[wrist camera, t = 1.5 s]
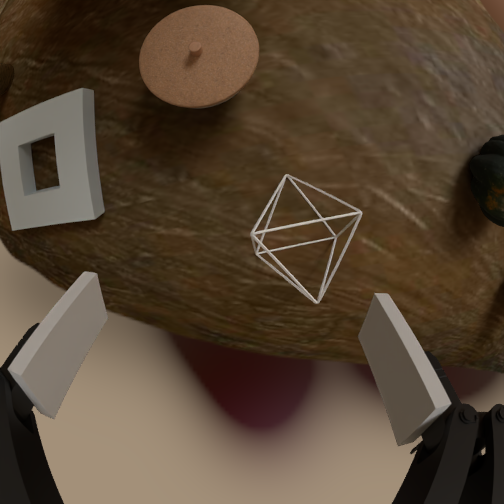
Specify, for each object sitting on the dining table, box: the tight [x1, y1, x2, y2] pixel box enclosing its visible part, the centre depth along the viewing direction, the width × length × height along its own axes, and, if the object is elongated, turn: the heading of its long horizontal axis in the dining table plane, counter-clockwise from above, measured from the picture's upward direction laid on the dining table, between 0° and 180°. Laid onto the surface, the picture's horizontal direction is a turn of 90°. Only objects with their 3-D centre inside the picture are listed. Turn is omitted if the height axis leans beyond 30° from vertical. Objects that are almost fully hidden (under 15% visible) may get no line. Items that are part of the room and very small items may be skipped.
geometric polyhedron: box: [250, 174, 362, 304], centre depth 30 cm, size 12×11×9 cm
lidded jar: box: [139, 5, 259, 108], centre depth 21 cm, size 11×11×9 cm
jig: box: [0, 88, 105, 231], centre depth 26 cm, size 16×16×3 cm
